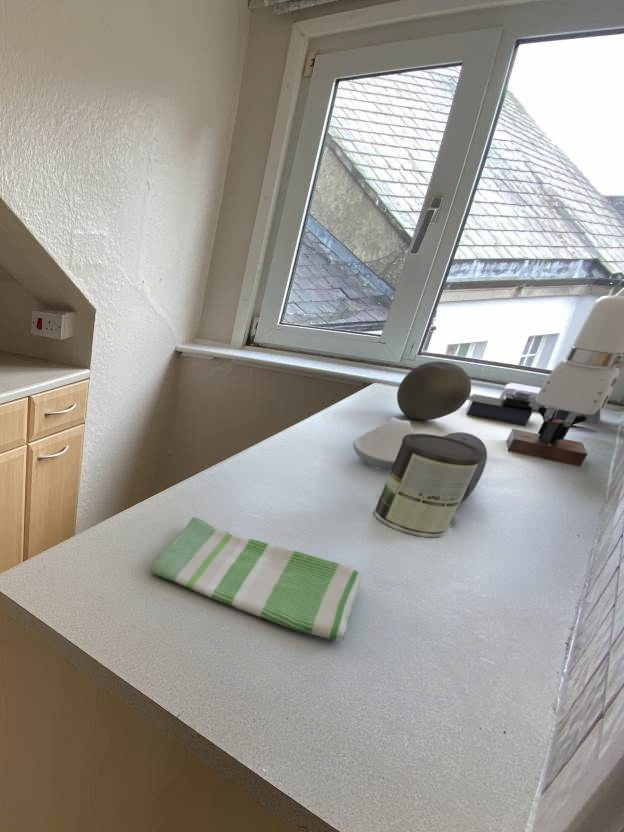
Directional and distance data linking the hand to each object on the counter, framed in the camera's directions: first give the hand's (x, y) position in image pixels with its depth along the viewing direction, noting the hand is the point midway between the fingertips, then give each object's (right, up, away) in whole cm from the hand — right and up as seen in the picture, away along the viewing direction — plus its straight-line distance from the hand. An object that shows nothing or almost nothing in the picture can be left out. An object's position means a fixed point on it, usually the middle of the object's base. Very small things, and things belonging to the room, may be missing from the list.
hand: (548, 439), depth 122 cm
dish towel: (-89, -23, -46) cm, 103 cm away
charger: (+30, +13, +38) cm, 50 cm away
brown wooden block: (0, -3, +2) cm, 3 cm away
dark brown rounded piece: (-13, +6, +19) cm, 24 cm away
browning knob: (0, 0, 0) cm, 0 cm away
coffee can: (-55, -16, -30) cm, 64 cm away
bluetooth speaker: (-41, -12, -19) cm, 47 cm away
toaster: (+10, +8, +24) cm, 27 cm away
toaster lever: (+13, +12, +20) cm, 27 cm away
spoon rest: (-40, -4, -4) cm, 41 cm away
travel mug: (+27, +6, +21) cm, 35 cm away
